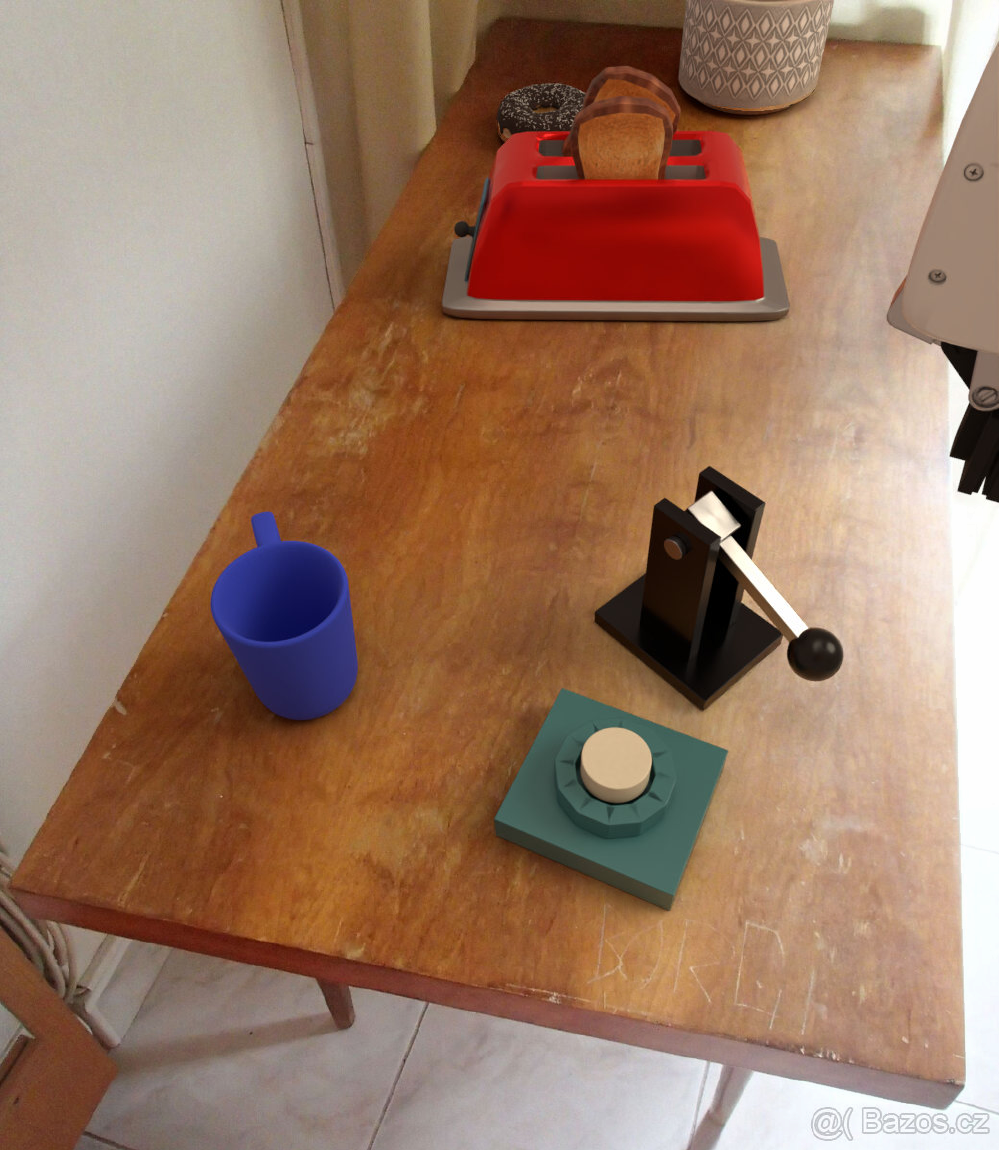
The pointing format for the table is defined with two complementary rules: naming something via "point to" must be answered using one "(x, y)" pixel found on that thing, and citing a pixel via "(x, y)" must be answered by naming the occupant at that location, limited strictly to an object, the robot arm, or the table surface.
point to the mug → (288, 623)
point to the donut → (539, 109)
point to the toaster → (617, 221)
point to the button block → (612, 830)
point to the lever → (770, 597)
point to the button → (615, 765)
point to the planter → (752, 51)
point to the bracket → (693, 600)
